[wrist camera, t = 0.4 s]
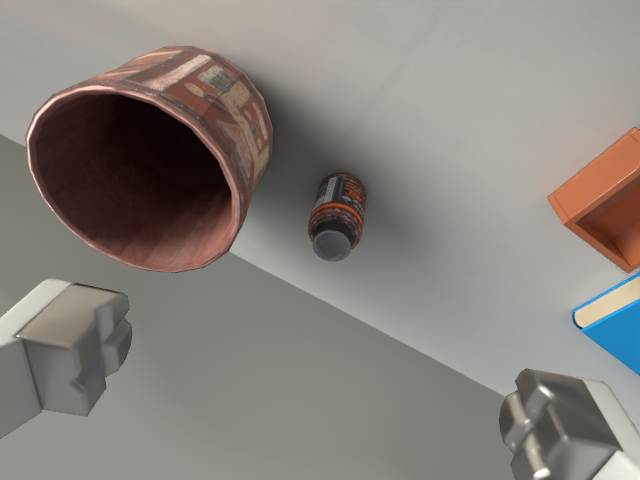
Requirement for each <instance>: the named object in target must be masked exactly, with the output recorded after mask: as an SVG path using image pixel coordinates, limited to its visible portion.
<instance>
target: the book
mask: <svg viewBox="0 0 640 480" xmlns="http://www.w3.org/2000/svg"><path fill="white" fill-rule="evenodd" d="M572 311H573V316H572V318H573V322H574V324H575V325H576V326H577V327H578V328H579V329H580V330H582V332H583V333H584V334H586V335H587V336H588V337H590V338H591V339H592V340H593V341H595V342H596V343H597V344H599V345H600V346H601V347H603V348H604V349H605V350H607V351H608V352H609V353H610V354H612V355H613V356H614V357H616V358H617V359H618V360H620V361H621V362H622V363H624V364H625V365H626V366H628V367H629V368H630V369H631V370H633V371H634V372H635V373H637V374H638V375H639V376H640V273H638V274H636V275H634V276H633V277H631V278H629V279H627V280H626V281H624V282H622V283H620V284H618V285H617V286H615V287H613V288H611V289H610V290H608V291H606V292H604V293H603V294H601V295H599V296H597V297H595V298H594V299H592V300H590V301H588V302H587V303H585V304H583V305H581V306H579V307H578V308H576V309H574V310H572Z"/></svg>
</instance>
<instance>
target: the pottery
mask: <svg viewBox="0 0 640 480" xmlns="http://www.w3.org/2000/svg"><path fill="white" fill-rule="evenodd" d="M25 140H26V149H27V159H28V167H29V170H30V172H31V174H32V176H33V178H34V181H35V183H36V185H37V187H38V189H39V192H40V194H41V196H42V198H43V199H44V200H45V202H46V203H47V204H48V205H49V206H50V208H51V209H52V211H53V212H54V213H55V215H56V216H57V217H58V218H59V220H60V221H61V222H62V224H63V225H65V226H66V227H67V228H69V230H71V231H72V232H73V233H74V234H75V235H77V236H78V237H79V238H80V239H81V240H83V241H84V242H85V243H86V244H87V245H89V246H90V247H92V248H94V249H96V250H97V251H99V252H101V253H103V254H105V255H107V256H109V257H110V258H112V259H114V260H116V261H118V262H120V263H124V264H127V265H130V266H133V267H137V268H140V269H143V270H147V271H159V272H171V273H178V272H183V271H188V270H193V269H199V268H204V267H206V266H207V265H209V264H210V263H212V262H214V261H215V260H216V259H218V258H219V257H221V256H222V255H224V254H226V253H227V252H228V251H229V250H230V248H231V246H232V244H233V242H234V240H235V238H236V236H237V234H238V233H239V231H240V229H241V227H242V225H243V223H244V220H245V218H246V215H247V211H248V207H249V203H250V199H251V196H252V193H253V191H254V190H255V188H256V186H257V185H258V183H259V181H260V179H261V177H262V175H263V173H264V171H265V169H266V167H267V165H268V163H269V161H270V159H271V157H272V142H273V127H272V124H271V121H270V117H269V114H268V111H267V108H266V105H265V102H264V98H263V97H262V95H261V94H260V93H259V91H258V90H257V89H256V87H255V86H254V85H253V83H252V82H251V81H250V79H249V78H248V76H247V75H246V74H245V72H243V71H242V70H240V69H239V68H237V67H236V66H235V65H233V64H232V63H230V62H229V61H227V60H226V59H224V58H223V57H221V56H220V55H218V54H216V53H213V52H210V51H207V50H204V49H200V48H197V47H194V46H167V47H163V48H161V49H158V50H156V51H153V52H151V53H148V54H146V55H143V56H140V57H138V58H135V59H133V60H131V61H129V62H128V63H126V64H124V65H122V66H121V67H119V68H117V69H115V70H112V71H109V72H107V73H104V74H101V75H98V76H96V77H93V78H90V79H88V80H85V81H83V82H80V83H78V84H76V85H73V86H71V87H69V88H67V89H64V90H62V91H60V92H58V93H55V94H53V95H52V96H51V97H50V98H49V99H48V100H47V101H46V102H45V103H44V104H43V105H42V106H41V107H40V108H39V109H38V110H37V112H36V113H35V114H34V116H33V118H32V121H31V123H30V126H29V129H28V131H27V134H26V136H25Z"/></svg>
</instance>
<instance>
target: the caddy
mask: <svg viewBox="0 0 640 480" xmlns="http://www.w3.org/2000/svg"><path fill="white" fill-rule="evenodd" d="M547 199H548V200H549V202H550V204H551V205H552V207H553V209H554V210H555V212H556V214H557V215H558V217H559V219H560V220H561V222H562V224H563V225H564V226H566V227H567V228H568V229H570V230H571V231H572V232H574V233H575V234H576V235H578V236H579V237H580V238H581V239H583V240H584V241H585V242H587V243H588V244H589V245H591V246H592V247H593V248H595V249H596V250H597V251H599V252H600V253H601V254H603V255H604V256H605V257H606V258H608V259H609V260H610V261H612V262H613V263H614V264H616V265H617V266H618V267H620V268H621V269H622V270H624V271H625V272H626V273H628V274H629V273H630V272H632V271H634V269H637V268H639V267H640V130H638V129H637V128H636V127H634V128H633V129H631V130H630V131H629V132H628V133H626V134H625V135H624V136H623V137H621V138H620V139H619V140H618V141H617V142H615V143H614V144H613V145H612V146H610V147H609V148H608V149H607V150H605V151H604V152H603V153H602V154H600V155H599V156H598V157H597V158H596V159H594V160H593V161H592V162H591V163H589V164H588V165H587V166H586V167H584V168H583V169H582V170H581V171H579V172H578V173H577V174H576V175H574V176H573V177H572V178H571V179H570V180H568V181H567V182H566V183H565V184H563V185H562V186H561V187H560V188H558V189H557V190H556V191H555V192H553V193H552V194H551V195H550V196H548V197H547Z"/></svg>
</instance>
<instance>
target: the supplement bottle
mask: <svg viewBox="0 0 640 480" xmlns="http://www.w3.org/2000/svg"><path fill="white" fill-rule="evenodd" d="M365 202H366V193H365V189H364V187H363V185H362V184H361V182H360V181H359V180H357V179H356V178H355V177H353V176H350V175H347V174H335V175H332V176H330V177H328V178H326V179H325V180H324V181H323V182H322V184H321V186H320V188H319V190H318V193H317V197H316V200H315V204H314V207H313V210H312V214H311V217H310V220H309V225H308V233H309V237H310V239H311V241H312V242H313V249H314V251H315V253H316V254H317V255H318V256H319V257H321V258H322V259H324V260H327V261H340V260H342V259H344V258H346V257H347V256H348V254H349V253H350V250H352V249H353V248H354V247H355V246H356V245H357V244H358V243H359V241H360V239H361V236H362V230H363V221H364V212H365Z"/></svg>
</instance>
